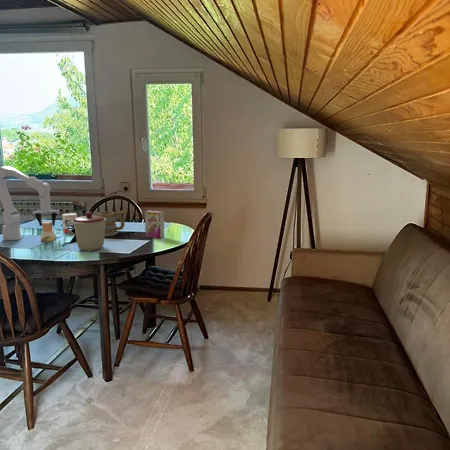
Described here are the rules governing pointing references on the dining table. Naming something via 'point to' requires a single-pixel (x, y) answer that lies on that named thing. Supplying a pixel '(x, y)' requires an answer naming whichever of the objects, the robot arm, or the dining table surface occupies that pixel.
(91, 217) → the canister
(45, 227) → the terracotta block
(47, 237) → the beech slab
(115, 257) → the dining table surface
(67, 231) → the ink box
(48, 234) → the off-white slab
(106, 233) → the tankard
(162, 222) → the candy bar box
